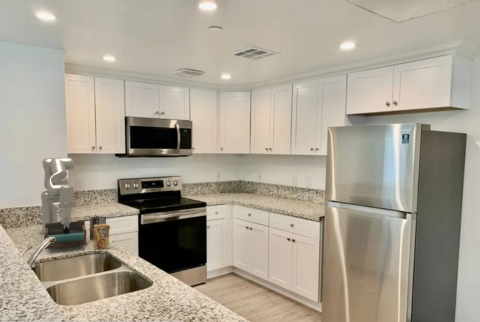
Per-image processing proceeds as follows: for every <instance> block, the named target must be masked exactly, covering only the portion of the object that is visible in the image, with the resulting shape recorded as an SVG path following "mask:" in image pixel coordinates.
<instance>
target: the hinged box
mask: <svg viewBox="0 0 480 322" xmlns="http://www.w3.org/2000/svg"><path fill="white" fill-rule="evenodd" d="M63 228H64V224H63V225H62V224H61V221H60V222H59V221H57V222H56V223H45V233H44V234H43V235H44V236H43V237H44V239H43V240H45V239H46V238H48V235H60V234H63ZM83 232H84V238H83V240H82V241H72V242H61V243H51V244H49V245H48V246H47V247H46V248H45V249H44V250H47V249H56V248H66V247H76V246H84V245H85V246H86V245H87V228H86V221H85V220H74V221H73V220H71V221H70V224H69V234H72V233H83Z"/></svg>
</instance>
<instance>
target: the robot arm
mask: <svg viewBox="0 0 480 322" xmlns="http://www.w3.org/2000/svg"><path fill="white" fill-rule="evenodd" d="M42 167H43V169H44V179H43V180H44V181H43V184H44V187H43V188H44V189H46V190H44V191H42V192H41V194H40V200H41V206H42V208H41V210H42V211H41V219H42V220H41V222H42V224H41V230H40V231H39V234H41V235H44V233H45V223H56V222H58V216H57V215H58V208H57V206H56V205H55V203H59V209H61V212H60V214H61V215H60V217H61V218H60V222H61V224H62V225H63V224H64V228H63V234H69V224H70V221H72V220H71V218H72V217H71V216H72V209H73V208H74V190H75V189H74V186H73V185H72V184H69V179H68V178H67V176H68V172H67V171H71V170H73V169H74V168H75V162H74V159H73V158H72V157H53V158H51V157H49V158H46V157H45V158H44V159H42Z"/></svg>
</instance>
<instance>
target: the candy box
mask: <svg viewBox="0 0 480 322" xmlns="http://www.w3.org/2000/svg"><path fill="white" fill-rule="evenodd" d="M102 248H110V224H109V223H106V224H100V225H94V241H93V250H94V249H98V250H103V249H102Z"/></svg>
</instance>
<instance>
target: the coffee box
mask: <svg viewBox="0 0 480 322" xmlns="http://www.w3.org/2000/svg"><path fill="white" fill-rule="evenodd" d="M100 224H107V217H106V216H98V215H95V216H94V215H93V216H91V217H89V241H91V240H94V225H100Z"/></svg>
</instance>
